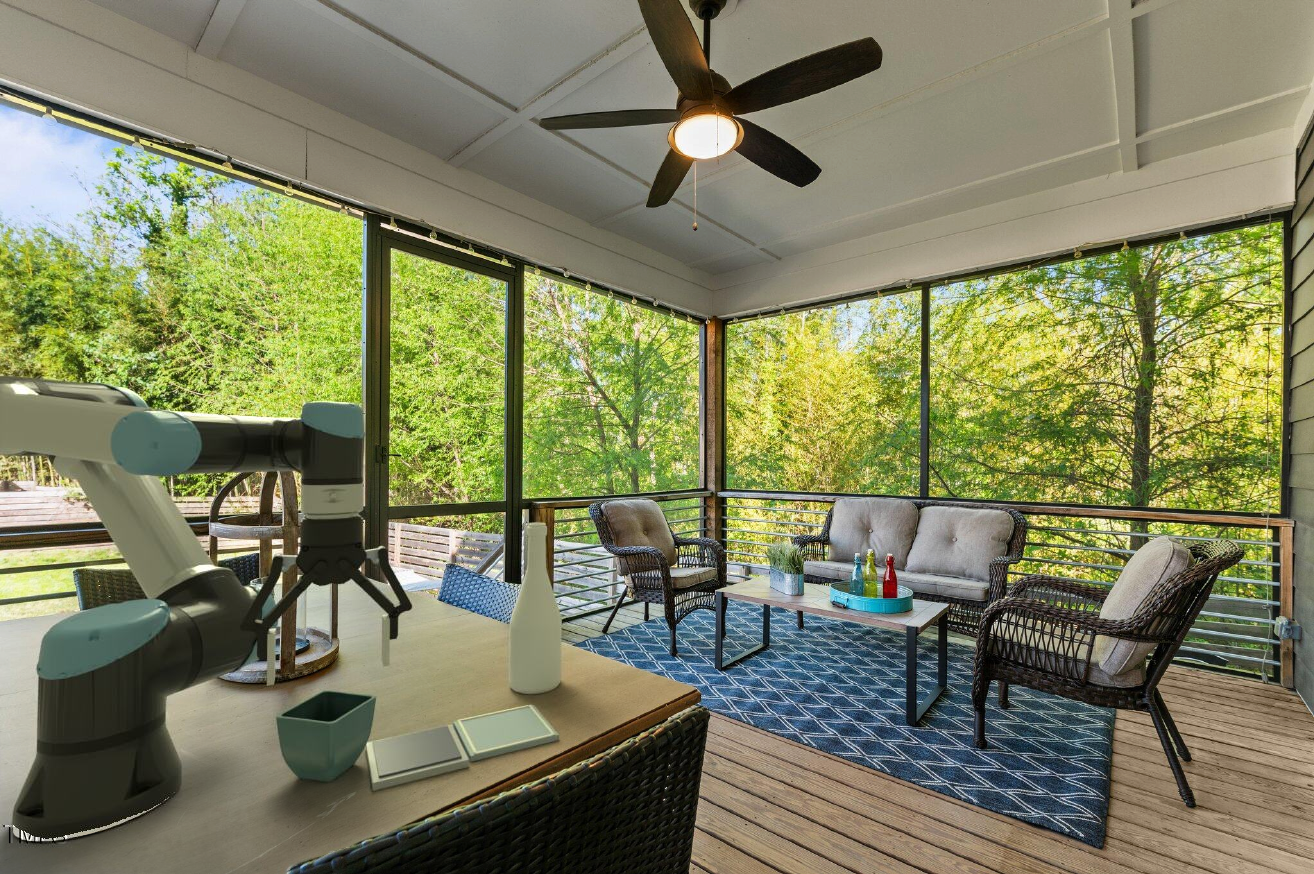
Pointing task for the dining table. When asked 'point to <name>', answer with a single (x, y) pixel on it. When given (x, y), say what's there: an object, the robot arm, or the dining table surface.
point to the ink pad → (414, 756)
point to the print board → (503, 732)
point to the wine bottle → (535, 624)
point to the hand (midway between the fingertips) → (330, 672)
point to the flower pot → (325, 733)
